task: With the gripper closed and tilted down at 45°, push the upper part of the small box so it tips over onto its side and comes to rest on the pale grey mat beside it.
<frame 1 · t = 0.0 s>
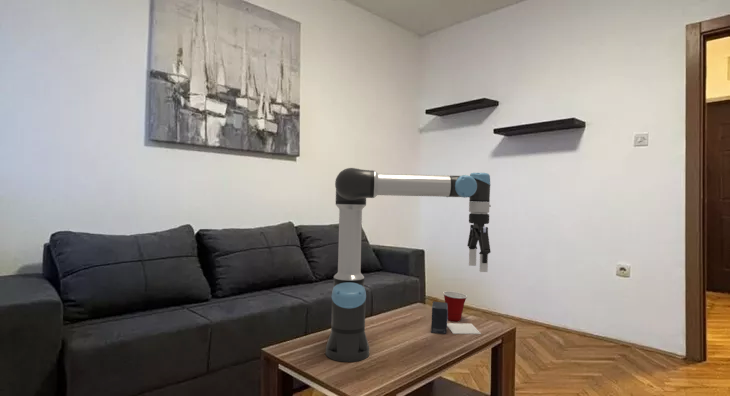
hand: (477, 268, 159), 28 cm above the table, tool pointing down, fingers open, 13 cm apart
small box: (439, 330, 173), on the table
plastic cup: (454, 320, 187), on the table
mat: (462, 328, 175), on the table
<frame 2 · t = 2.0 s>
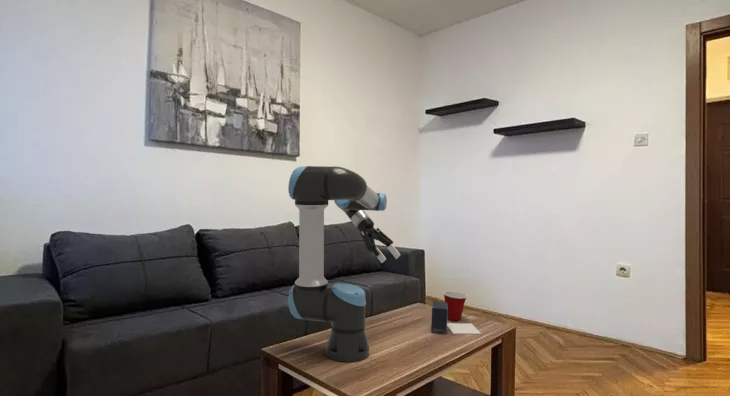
hand: (391, 259, 181), 28 cm above the table, tool tilted 45°, fingers open, 13 cm apart
nothing on the table moved.
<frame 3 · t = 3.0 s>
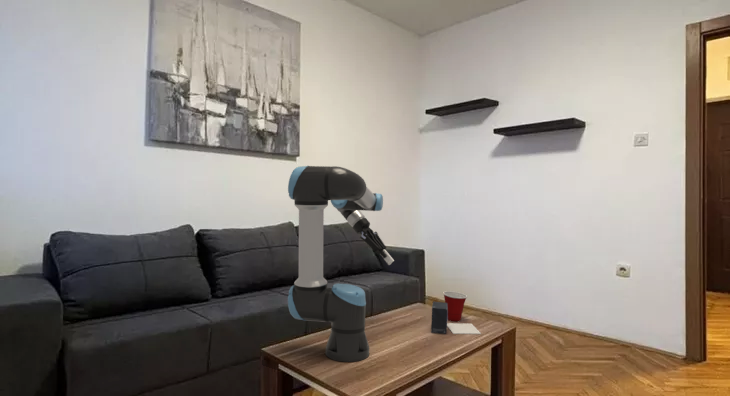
hand: (391, 262, 181), 26 cm above the table, tool tilted 45°, fingers closed
nothing on the table moved.
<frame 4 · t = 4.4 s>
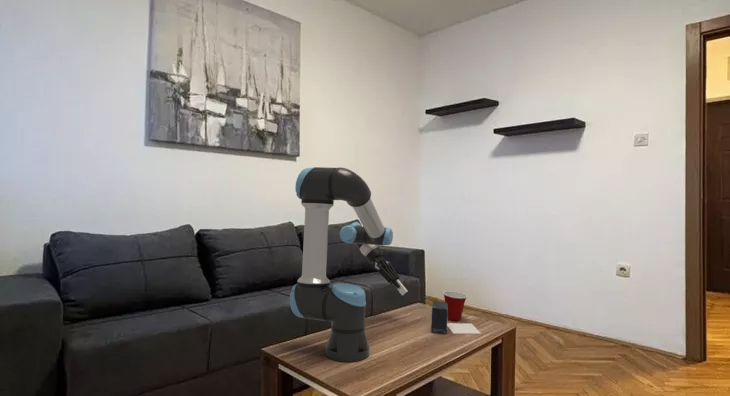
hand: (405, 293, 181), 13 cm above the table, tool tilted 45°, fingers closed
nothing on the table moved.
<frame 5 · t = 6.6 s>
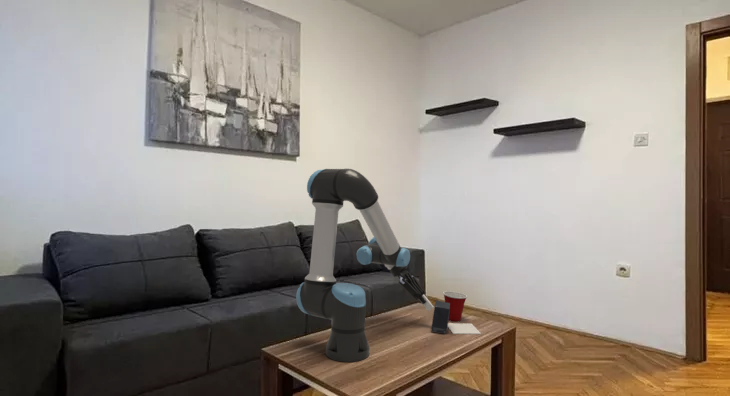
hand: (431, 308, 175), 8 cm above the table, tool tilted 45°, fingers closed
small box: (439, 329, 173), on the table, touching gripper
everything else where it was.
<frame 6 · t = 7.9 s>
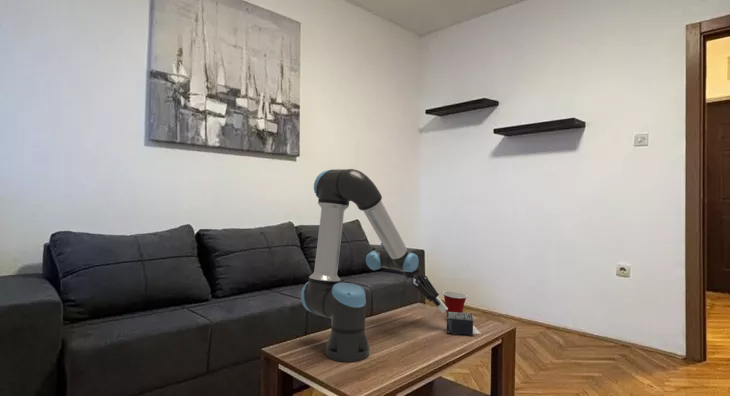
hand: (445, 311, 172), 8 cm above the table, tool tilted 45°, fingers closed
small box: (445, 322, 172), point 3 cm above the table, touching mat
everything else where it was.
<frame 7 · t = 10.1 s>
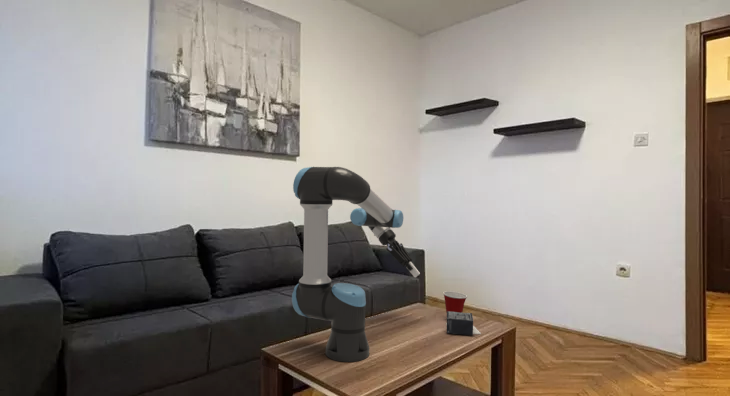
hand: (417, 275, 180), 21 cm above the table, tool tilted 45°, fingers closed
nothing on the table moved.
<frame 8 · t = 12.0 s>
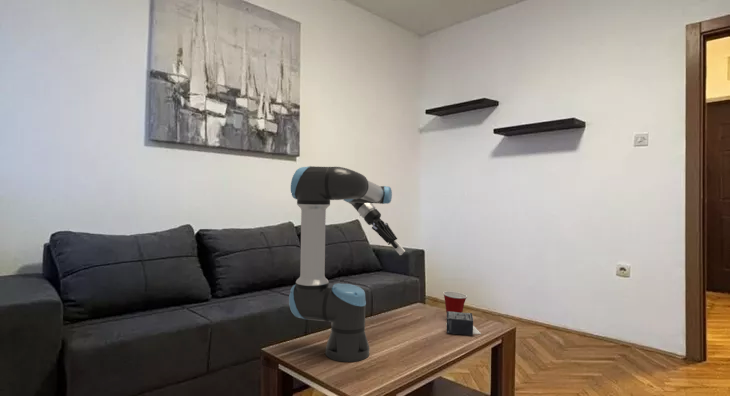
hand: (402, 253, 183), 30 cm above the table, tool tilted 45°, fingers closed
nothing on the table moved.
at the end: small box tilted 89°; small box touching mat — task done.
